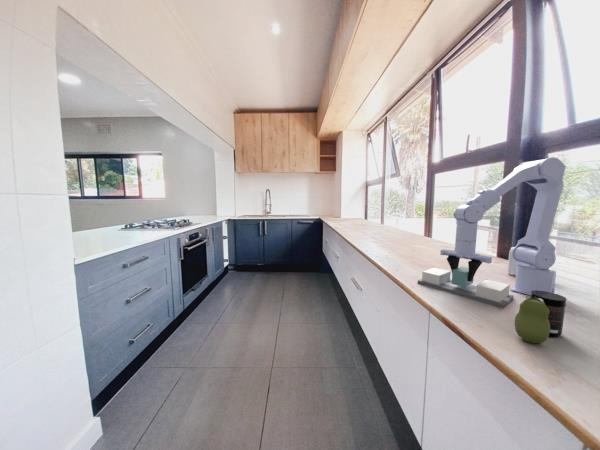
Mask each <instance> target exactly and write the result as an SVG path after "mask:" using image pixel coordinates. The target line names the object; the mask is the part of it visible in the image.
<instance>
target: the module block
mask: <svg viewBox="0 0 600 450" xmlns="http://www.w3.org/2000/svg"><path fill="white" fill-rule="evenodd" d="M468 274H469V267H465V266H462V265H461V266H458V268H456V269H453V273H452V272H451V280H452V284H454V285H458V286H462V287H467V286H468V285H473V283H474V280H473V281H471V282H469V281H468Z"/></svg>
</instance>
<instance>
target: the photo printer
mask: <svg viewBox="0 0 600 450" xmlns="http://www.w3.org/2000/svg"><path fill="white" fill-rule="evenodd" d="M515 247H516V246H512V247H511V248H510V250H509V253H508V264H507V275H508V276H514V277H516V269H517V263H516V260H515V259H514V258H513V256H512V251H513V249H514V248H515Z"/></svg>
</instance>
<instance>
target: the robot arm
mask: <svg viewBox="0 0 600 450" xmlns="http://www.w3.org/2000/svg"><path fill="white" fill-rule="evenodd" d="M566 168H567V166H566V164H564V163H563V162H562V160H561V159H559V158H557V157H547V158H545V159H544V158H543V159H538V160H531V161H524V162H522V163H520V164H519V165H518V166H516V167H514V169H513V171H511V172H510V173H509V174H508V175H507V176H505V178H503V179H502V180H501V181H500V182H498V183H497V184H496V185H494V187H492V188H485V189H481V190H480V191H478V194H477V195H475V196H474V197H472V198H471V199H469V200H467V201H466V203H465V204H461V205H459V206H458V207H456V208H455V211H454V212H453V217H454V219H455V220H456V221H455V222H456V228H455V229H456V230H455V243H454V250H453V249H448V248H447V249H444V248H442V249H440V256H447V257H446V260H447V263H448V265H449V267H450V271H451V274H452V273H453V269H456V268H458V267H459V264H460V259H465V260H469V261H467V264H468V268H469V274H468V281H469V282H471V281H473V282H474V277H475V275H476V273H477V271H478V269H479V268H480V267H481V265H482V263H485V264H491V263H492V256H489V255H484V254H479V253H476V247H477V245H476V244H477V235H478V234H477V233H478V225H479V223H478V222H479V221H480V222H481V220H482V219H483V217H484V214H485V213H487V212H488V211H490V209H492V208H493V207H494V206H496V205H497V204H499V203H500V202H501V197H502V196H504V195H505V194H506V193H507V192H509V191H511V190H512V189H514V188H515V187H517V186H519V185H520V184H521V183H523V182H524V183H525V184H528V185H529V186H532V187H533V188H534V189H535V190H537V192H536V195H535V199H534V203H533V207H532V211H531V215H530V219H529V222H528V226H527V229H526V233H525V236H524V237H522V238H520V239H519V240H517V243H516V245H515V246H514V247H515V248H514V249H513V251H512V256H513V258H514V259H515V260H516V263H517V269H516V276H515V279H514V280H515V281H514V285H513V286H512V287H511V288H509V291H512V292H517V293H520V294H524V295H525V294H526V295H527V296H529V295H530V296H531V291H535V290H537V291H546V292H551V293H555V290H556V288H555V284H556V277H557V276H556V275H557V271H556V270H554V269H550V268H551V267H552V266H554V264H555V263H556V253H555V252H556V246H555V245H554V244H553V243H552V242H551V241H550V240H549V239H550V235H551V232H552V228H553V225H554V221H555V218H556V214H557V210H558V207H559V204H560V200H561V199H560V198H561V197H562V193H563V192H562V191H563V189H564V179H563V178H564V175H565V170H566Z"/></svg>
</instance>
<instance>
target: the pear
mask: <svg viewBox="0 0 600 450" xmlns="http://www.w3.org/2000/svg"><path fill="white" fill-rule="evenodd" d="M534 297H535V298H534ZM534 297H532V298H531V297H530V296H529V295H527V296H526V297H525V299H524V300H523V301H522V302H521V303H520V304H519V309H518V311H517V313H516V315H515V317H514V329H515V332H516V333H517V335H518V337H520V338H521V340H524V341H526V342H529V343H531V344H542V343H544V342H546V341H547V340H548V338H549V334H550V323H549V321H548V315H549V309H548V308H547V307H546V305H545V303H544V300H542V299H541V298H537V297H536V296H534Z"/></svg>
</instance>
